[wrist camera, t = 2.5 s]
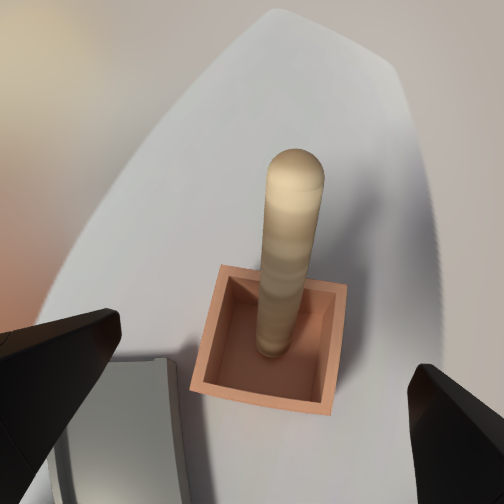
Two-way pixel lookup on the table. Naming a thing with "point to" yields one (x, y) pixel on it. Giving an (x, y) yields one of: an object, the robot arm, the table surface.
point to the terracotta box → (263, 368)
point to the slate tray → (124, 440)
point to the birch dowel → (286, 245)
